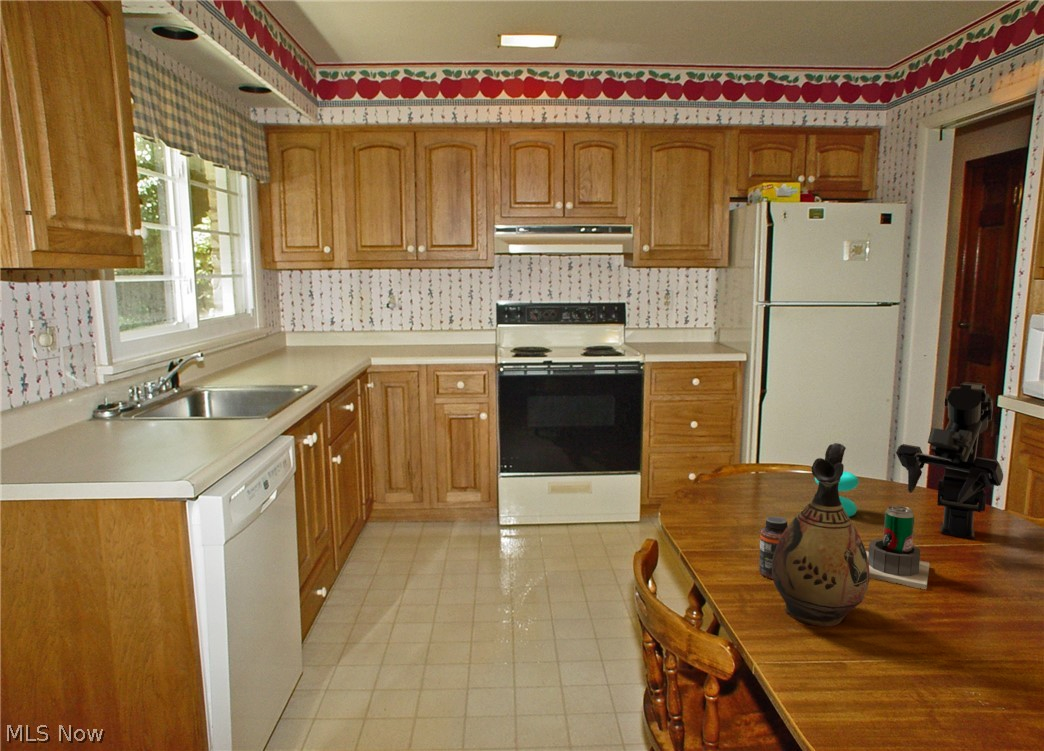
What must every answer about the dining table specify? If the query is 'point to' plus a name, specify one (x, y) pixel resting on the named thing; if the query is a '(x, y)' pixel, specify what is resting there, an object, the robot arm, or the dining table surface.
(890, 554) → the collar socket
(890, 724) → the dining table surface
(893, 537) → the soda can
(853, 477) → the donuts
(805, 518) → the ceramic jug
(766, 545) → the supplement bottle
